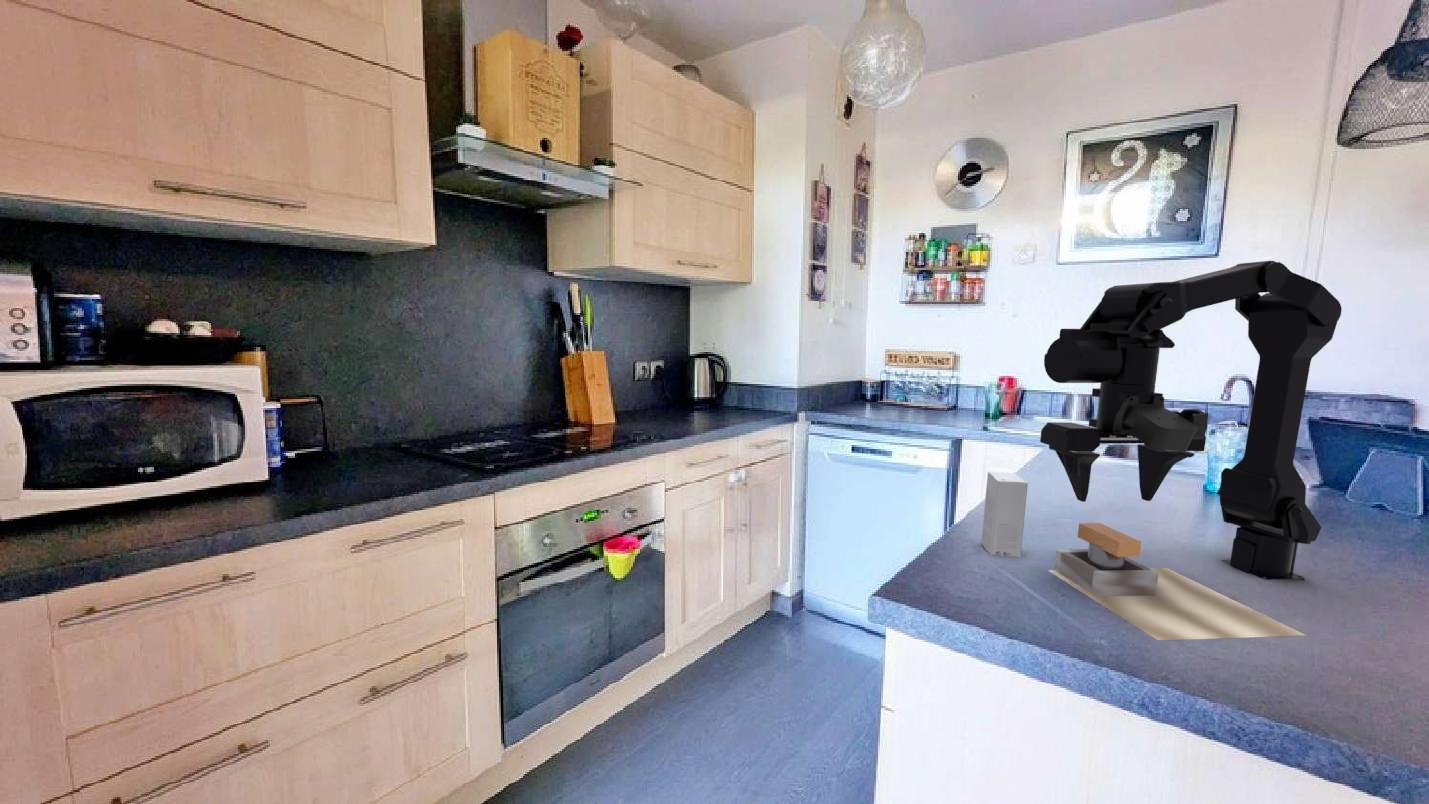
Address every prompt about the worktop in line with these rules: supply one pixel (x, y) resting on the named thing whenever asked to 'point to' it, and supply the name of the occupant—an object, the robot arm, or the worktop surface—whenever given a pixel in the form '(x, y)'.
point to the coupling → (1107, 546)
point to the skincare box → (1004, 514)
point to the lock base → (1164, 601)
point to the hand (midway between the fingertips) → (1113, 500)
